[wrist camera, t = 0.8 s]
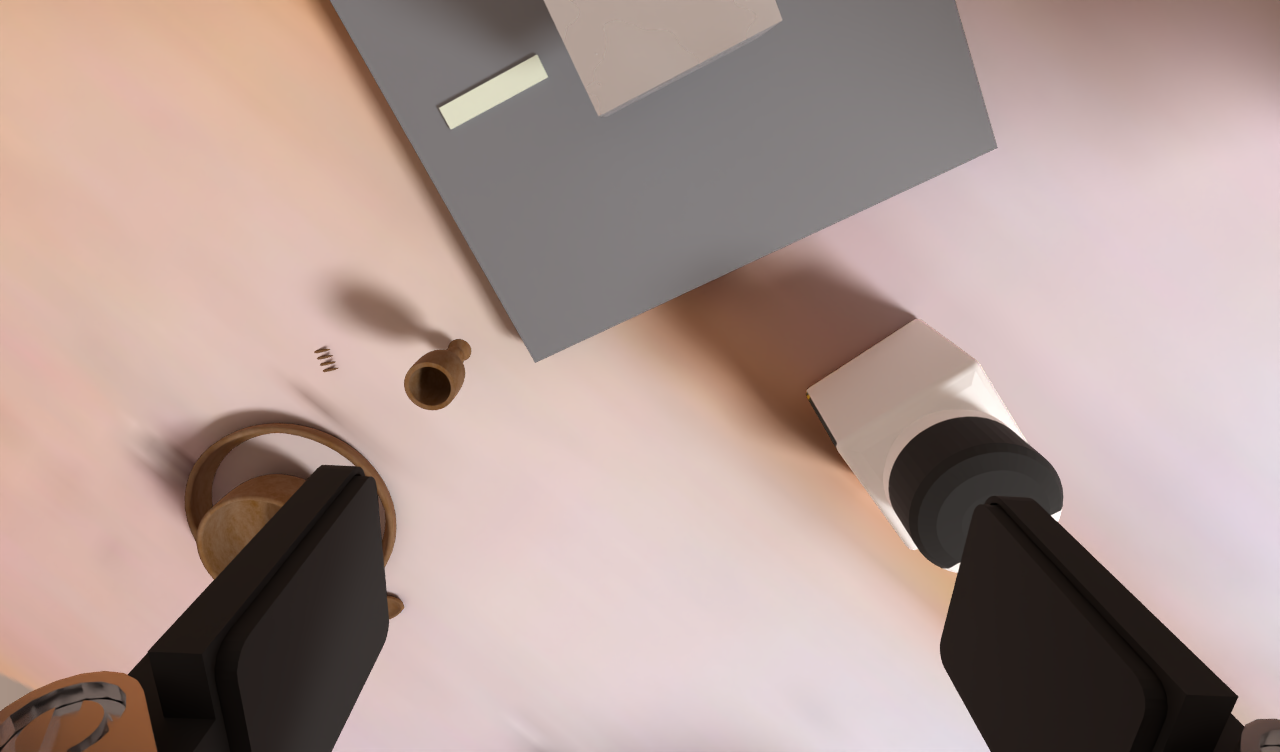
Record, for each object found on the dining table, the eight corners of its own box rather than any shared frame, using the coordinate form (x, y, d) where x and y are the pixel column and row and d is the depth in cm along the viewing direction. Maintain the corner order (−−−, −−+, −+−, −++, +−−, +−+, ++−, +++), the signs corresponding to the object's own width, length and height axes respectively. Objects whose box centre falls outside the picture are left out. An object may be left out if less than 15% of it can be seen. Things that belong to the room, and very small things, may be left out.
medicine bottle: (801, 389, 38) (867, 504, 27) (917, 314, 36) (1039, 402, 25) (867, 482, 40) (955, 625, 28) (980, 414, 38) (1119, 538, 27)
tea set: (140, 394, 39) (55, 439, 33) (474, 307, 37) (443, 340, 31) (275, 636, 45) (222, 709, 39) (569, 572, 43) (557, 640, 37)
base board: (796, -463, 26) (809, -514, 24) (977, 146, 33) (999, 147, 31) (272, -129, 30) (245, -147, 28) (540, 350, 37) (534, 363, 35)
